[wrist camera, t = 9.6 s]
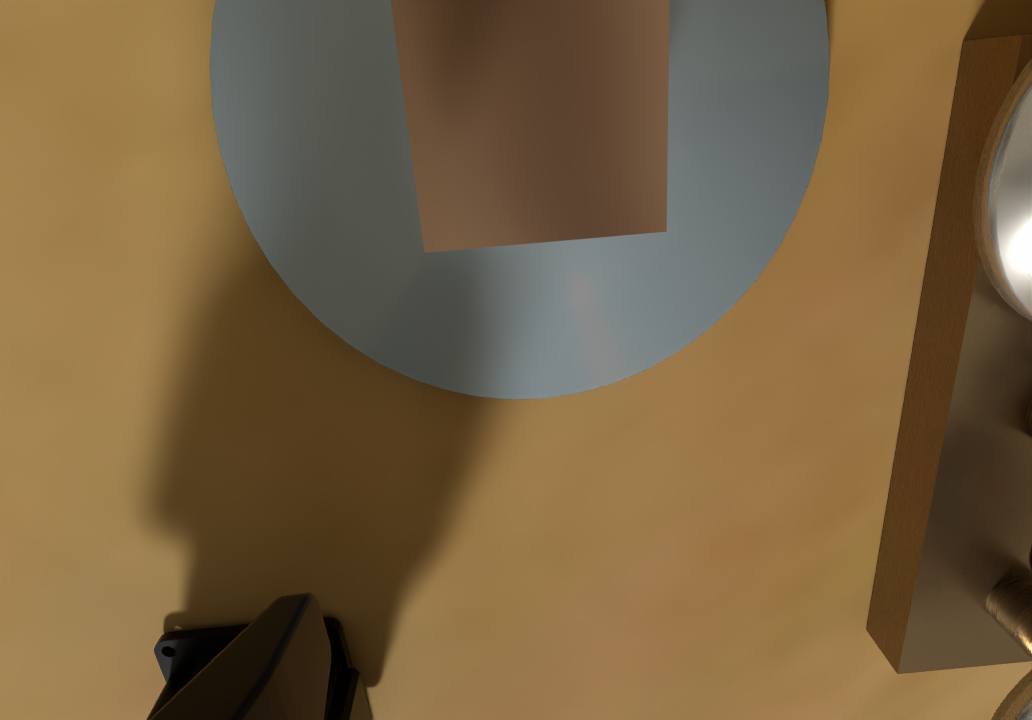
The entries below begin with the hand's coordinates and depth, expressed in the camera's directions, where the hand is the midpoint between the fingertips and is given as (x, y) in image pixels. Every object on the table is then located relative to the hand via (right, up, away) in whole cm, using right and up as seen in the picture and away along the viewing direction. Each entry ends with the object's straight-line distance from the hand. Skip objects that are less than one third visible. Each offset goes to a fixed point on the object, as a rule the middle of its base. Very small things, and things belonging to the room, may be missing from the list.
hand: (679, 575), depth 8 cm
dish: (-2, +9, +9) cm, 13 cm away
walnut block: (-2, +9, +8) cm, 12 cm away
